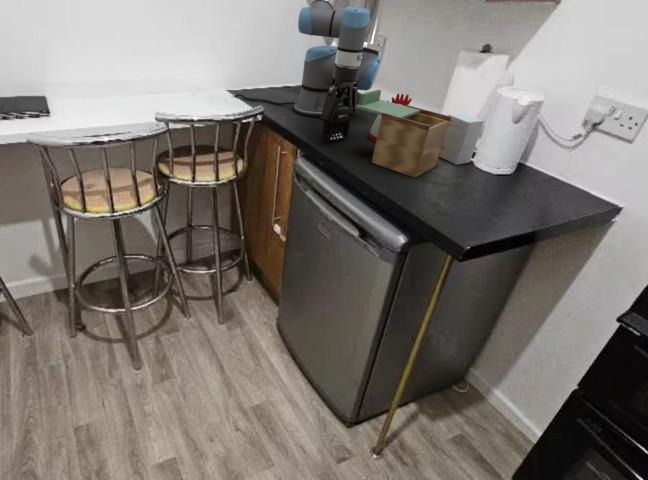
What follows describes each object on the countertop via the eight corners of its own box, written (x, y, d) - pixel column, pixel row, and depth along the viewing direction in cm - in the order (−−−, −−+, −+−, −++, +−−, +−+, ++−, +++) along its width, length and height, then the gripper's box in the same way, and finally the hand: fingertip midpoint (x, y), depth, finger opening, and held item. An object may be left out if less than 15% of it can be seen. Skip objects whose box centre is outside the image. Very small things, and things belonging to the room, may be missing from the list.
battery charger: (330, 143, 146) (336, 107, 140) (322, 140, 149) (328, 104, 142) (346, 140, 150) (352, 105, 143) (338, 137, 152) (344, 102, 146)
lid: (355, 107, 133) (358, 94, 131) (377, 101, 141) (380, 88, 139) (399, 120, 125) (402, 106, 123) (419, 112, 133) (423, 99, 131)
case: (370, 162, 135) (382, 112, 127) (394, 151, 144) (406, 104, 136) (414, 178, 127) (429, 126, 119) (436, 165, 136) (451, 116, 128)
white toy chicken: (418, 146, 150) (431, 100, 142) (380, 146, 147) (391, 99, 139) (398, 132, 161) (409, 88, 153) (362, 132, 158) (371, 87, 150)
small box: (470, 162, 140) (484, 120, 133) (455, 165, 138) (469, 122, 131) (450, 153, 146) (463, 112, 139) (435, 155, 144) (448, 114, 137)
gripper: (336, 72, 127) (324, 149, 139) (377, 64, 142) (362, 134, 154) (315, 67, 131) (304, 142, 144) (356, 60, 146) (343, 129, 158)
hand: (334, 138), depth 149 cm, fingers open, 10 cm apart
